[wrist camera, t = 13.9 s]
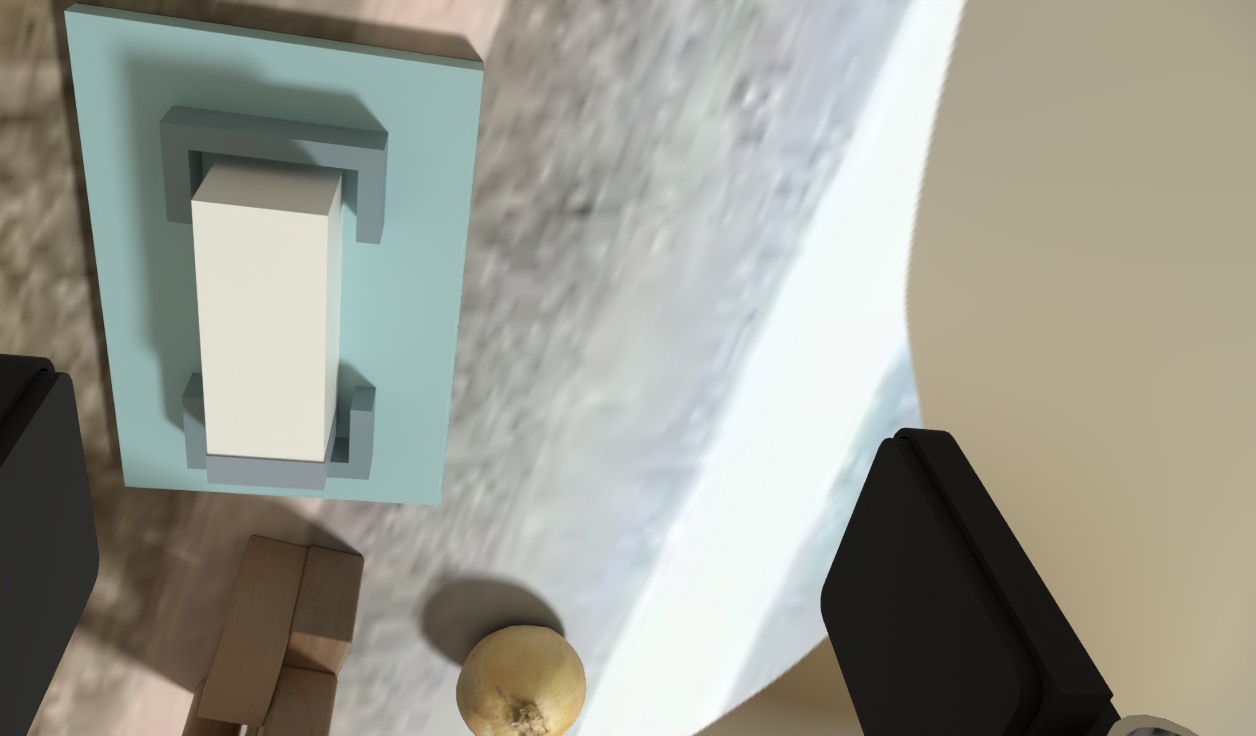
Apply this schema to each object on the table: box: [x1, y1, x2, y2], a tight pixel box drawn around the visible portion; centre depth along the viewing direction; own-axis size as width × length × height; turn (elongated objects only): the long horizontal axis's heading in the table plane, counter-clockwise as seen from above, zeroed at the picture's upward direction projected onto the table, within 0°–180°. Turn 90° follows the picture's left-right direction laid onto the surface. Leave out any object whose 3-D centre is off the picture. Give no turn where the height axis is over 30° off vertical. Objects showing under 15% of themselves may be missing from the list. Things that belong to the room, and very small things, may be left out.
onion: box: [456, 625, 586, 736], centre depth 60 cm, size 8×8×7 cm
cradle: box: [64, 3, 484, 505], centre depth 45 cm, size 24×16×3 cm, turn 170°
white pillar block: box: [191, 154, 344, 491], centre depth 44 cm, size 14×5×5 cm, turn 169°
